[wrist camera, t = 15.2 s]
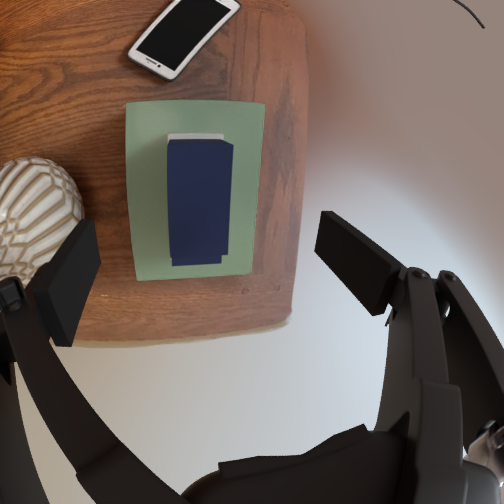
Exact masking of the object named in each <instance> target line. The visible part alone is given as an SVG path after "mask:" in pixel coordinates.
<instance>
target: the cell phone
mask: <svg viewBox="0 0 504 504" xmlns="http://www.w3.org/2000/svg"><path fill="white" fill-rule="evenodd" d="M240 8H241V4H240V3H239V2H238V1H237V0H173V1H172V2H171V3H170V4H169V5H168V6H167V7H166V8H165V9H164V10H163V11H162V12H161V13H160V14H159V15H158V16H157V17H156V18H155V20H154V21H153V22H152V23H151V24H150V25H149V26H148V27H147V28H146V29H145V31H144V32H143V33H142V34H141V35H140V36H139V38H138V39H137V40H136V41H135V42H134V44H133V45H132V46H131V47H130V49H129V50H128V52H127V54H126V56H127V58H128V59H129V60H130V61H132V62H133V63H135V64H137V65H139V66H141V67H143V68H144V69H146V70H148V71H150V72H152V73H153V74H155V75H157V76H159V77H160V78H162V79H164V80H166V81H169V82H172V81H174V80H175V79H176V78H177V77H178V76H179V75H180V74H181V72H182V71H183V70H184V68H185V67H186V66H187V65H188V63H189V62H190V61H191V60H192V59H193V57H194V56H195V55H196V54H197V53H198V52H199V51H200V50H201V49H202V48H203V47H204V46H205V44H206V43H207V42H208V41H209V40H210V39H211V38H212V37H213V36H214V35H215V34H216V33H217V32H218V31H219V30H220V29H221V28H222V27H223V26H224V25H225V24H226V23H227V22H228V21H229V20H230V19H231V18H232V17H233V16H234V15H235V14H236V13H237V12H238V11H239V9H240Z"/></svg>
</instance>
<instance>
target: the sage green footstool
mask: <svg viewBox="0 0 504 504" xmlns="http://www.w3.org/2000/svg"><path fill="white" fill-rule="evenodd" d="M264 114H265V104H263V103H253V102H240V101H223V100H158V101H141V102H129V103H126V123H125V157H126V184H127V200H128V213H129V224H130V233H131V242H132V250H133V257H134V264H135V271H136V277H137V281H145V280H163V279H180V278H196V277H212V276H226V275H240V274H251V270H252V258H253V247H254V235H255V223H256V211H257V199H258V187H259V175H260V163H261V150H262V138H263V126H264ZM169 133H221V134H224V138H223V140H224V141H226V142H229V143H231V144H233V145H234V150H233V166H232V183H231V202H230V223H229V246H228V255H222V263H221V264H205V265H188V266H172V260H171V259H170V248H169V230H168V204H167V143H168V134H169Z"/></svg>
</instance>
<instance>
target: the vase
mask: <svg viewBox="0 0 504 504" xmlns="http://www.w3.org/2000/svg"><path fill="white" fill-rule="evenodd" d="M81 219H85V213H84V205H83V201H82V197H81V194H80V192H79V190H78V187H77V185H76V184H75V182H74V180H73V179H72V178H71V176H70V175H69V174H68V173H67V172H66V171H65V170H64V169H63V168H62V167H61V166H59V165H58V164H56V163H55V162H53V161H50V160H48V159H46V158H42V157H21V158H17V159H14V160H11V161H9V162H7V163H5V164H3V165H2V166H0V281H1V280H3V279H5V278H7V277H10V276H17V277H19V278H20V279H21V282H22V284H23V287H24V289H25V287H26V286H27V284H28V283H29V281H30V280H31V278H32V277H33V276H34V274H35V272H36V271H37V269H38V268H39V267H40V266H42V265H43V264H44V263H45V262H49V261H50V260H51V258H52V257H53V256H54V254H55V253H56V251H57V250H58V249H59V247H60V246H61V244H62V243H63V242H64V240H65V239H66V238H67V236H68V235H69V234H70V232H71V231H72V230H73V229H74V227H75V226H76V225H77V224H78V222H79V221H80V220H81Z"/></svg>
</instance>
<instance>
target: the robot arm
mask: <svg viewBox="0 0 504 504" xmlns="http://www.w3.org/2000/svg"><path fill="white" fill-rule="evenodd" d="M453 1H455V2H456V3H458V4H459V5H461V6H462V7H464V8H465V9H466V10H467V11H468V12H469V13H470V14H471V15H472V16H473V17H474V18H475V19H476V20H477V22H478V23H479V24H480V26H481V27H482V28H485V27H484V25H483V24H482V23H481V22H480V20H479V19H478V18H477V17H476V15H475V14H474V13H473V12H472V11H471V10H470V9H469V8H468V7H466V6H465V5H464V4H462V3H461V2H459V1H458V0H453ZM314 251H315V253H316V254H317V255H318V256H319V257H320V258H321V259H322V260H323V261H324V262H325V264H326V265H327V266H328V267H329V268H330V269H331V270H332V271H333V272H334V273H335V275H337V277H338V278H339V279H340V280H341V281H342V282H343V283H344V284H345V286H346V287H347V288H348V289H349V290H350V291H351V292H352V294H353V295H354V296H355V297H356V298H357V299H358V300H359V301H360V303H361V304H362V305H363V306H364V307H365V308H366V309H367V311H368V312H369V313H370V314H371V315H372V316H376V315H380V314H384V312H385V310H386V307H387V305H388V303H389V304H390V305H391V306H392V307H393V308H392V310H391V312H390V315H389V317H388V319H387V322H386V324H385V326H387V324H389V336H388V348H387V358H386V367H385V375H384V382H383V389H382V396H381V402H380V407H379V413H378V418H377V422H376V426H375V428H374V430H373V431H368V430H367V428H366V426H365V425H364V424H361V425H359V426H356V427H354V428H351V429H349V430H346V431H343V432H341V433H338V434H335V435H333V436H332V437H330V438H328V439H327V440H325V441H324V442H322V443H321V444H319V445H318V446H316V447H314V448H313V449H311V450H309V451H308V452H306V453H304V454H301V455H291V456H255V457H250V458H245V459H239V460H233V461H226V462H219V463H218V468H219V470H218V471H215V472H212V473H210V474H208V475H206V476H204V477H202V478H200V479H199V480H197V481H195V482H194V483H193V484H191V485H190V486H189V487H188V488H187V489H186V490H185V491H184V492H183V493H182V494H181V495H179V494H178V493H177V492H175V491H174V490H173V489H171V488H170V487H169V486H168V485H167V484H166V483H164V482H163V481H162V480H161V479H160V478H159V477H158V476H156V475H155V474H154V473H153V472H152V471H151V470H150V469H149V468H148V467H147V466H145V465H144V464H143V463H142V462H141V461H140V460H139V459H138V458H137V457H136V456H135V455H134V454H133V453H132V452H131V451H130V450H129V449H128V448H127V447H126V446H125V445H124V444H123V443H122V442H121V441H120V440H119V439H118V438H117V437H116V436H115V435H114V434H113V432H112V431H111V430H110V429H109V428H108V427H107V425H106V424H105V423H104V422H103V421H102V419H101V418H100V417H99V416H98V415H97V413H96V412H95V411H94V409H93V408H92V407H91V405H90V404H89V403H88V402H87V400H86V399H85V397H84V396H83V395H82V393H81V392H80V390H79V389H78V388H77V386H76V385H75V383H74V382H73V380H72V379H71V377H70V376H69V374H68V373H67V371H66V370H65V368H64V366H63V365H62V363H61V361H60V360H59V358H58V357H57V355H56V353H55V351H54V350H53V348H52V346H51V344H50V342H49V339H50V336H51V337H52V339H53V342H54V344H55V346H61V347H72V343H73V340H74V336H75V333H76V330H77V327H78V324H79V320H80V317H81V314H82V311H83V309H84V306H85V303H86V300H87V297H88V295H89V292H90V289H91V287H92V284H93V281H94V279H95V276H96V274H97V271H98V269H99V267H100V264H101V260H100V255H99V250H98V244H97V239H96V232H95V226H94V219H93V218H87V219H81V220H80V221H79V222H78V224H77V225H76V226H75V227H74V229H73V230H72V231H71V232H70V234H69V235H68V236H67V238H66V239H65V240H64V242H63V243H62V244H61V246H60V247H59V249H58V250H57V251H56V253H55V254H54V256H53V257H52V258H51V260H50V261H49V262H45V263H44V264H43V265H42V266H40V267H39V268H38V269H37V271H36V272H35V274H34V276H33V277H32V278H31V280H30V281H29V283H28V284H27V286H26V287H25V289H24V287H23V284H22V282H21V279H20V278H19V277H17V276H10V277H7V278H5V279H3V280H1V281H0V311H1V312H0V504H50V503H49V501H48V499H47V496H46V494H45V492H44V489H43V487H42V484H41V482H40V479H39V477H38V473H37V471H36V468H35V465H34V462H33V459H32V455H31V452H30V448H29V445H28V441H27V438H26V433H25V429H24V425H23V421H22V416H21V410H20V405H19V399H18V392H17V385H16V377H15V367H14V362H17V363H18V366H19V368H20V371H21V374H22V376H23V378H24V381H25V383H26V385H27V387H28V390H29V392H30V394H31V396H32V398H33V400H34V402H35V404H36V406H37V408H38V410H39V412H40V414H41V416H42V418H43V420H44V421H45V423H46V425H47V427H48V428H49V430H50V432H51V434H52V435H53V437H54V438H55V440H56V442H57V443H58V445H59V447H60V448H61V449H62V451H63V453H64V454H65V456H66V457H67V458H68V460H69V461H70V463H71V464H72V465H73V467H74V469H75V470H76V472H77V473H76V477H77V479H78V481H79V482H80V484H81V485H82V487H83V488H84V489H85V491H86V492H87V493H88V494H89V495H90V497H91V498H92V499H93V500H94V501H95V503H96V504H501V498H500V488H501V486H502V485H503V484H504V349H503V347H502V345H501V343H500V341H499V339H498V338H497V336H496V334H495V332H494V331H493V329H492V327H491V326H490V324H489V322H488V321H487V319H486V317H485V316H484V314H483V313H482V311H481V310H480V308H479V306H478V305H477V303H476V302H475V300H474V299H473V297H472V296H471V294H470V293H469V292H468V290H467V289H466V287H465V286H464V284H463V283H462V282H461V280H460V279H459V278H458V277H457V276H456V275H455V274H454V273H453V272H450V271H445V270H442V271H440V273H439V275H438V278H437V279H433V278H431V277H430V275H429V274H428V273H427V272H425V271H424V270H422V269H420V268H416V267H409V268H406V267H405V266H404V265H403V264H402V263H400V262H399V261H398V260H397V259H395V258H394V257H393V256H392V255H390V254H389V253H388V252H387V251H385V250H384V249H383V248H382V247H380V246H379V245H378V244H376V243H375V242H374V241H372V240H371V239H370V238H368V237H367V236H366V235H365V234H363V233H362V232H360V231H359V230H357V229H356V228H355V227H354V226H352V225H351V224H350V223H348V222H347V221H345V220H344V219H343V218H341V217H340V216H338V215H337V214H336V213H334V212H333V211H322V212H321V217H320V223H319V229H318V234H317V240H316V245H315V250H314ZM449 306H450V311H449V314H448V316H447V317H446V315H445V314H446V312H447V310H448V307H449ZM463 446H464V449H465V451H466V453H467V455H466V456H465V457H464V458H463ZM462 458H463V459H462Z"/></svg>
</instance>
